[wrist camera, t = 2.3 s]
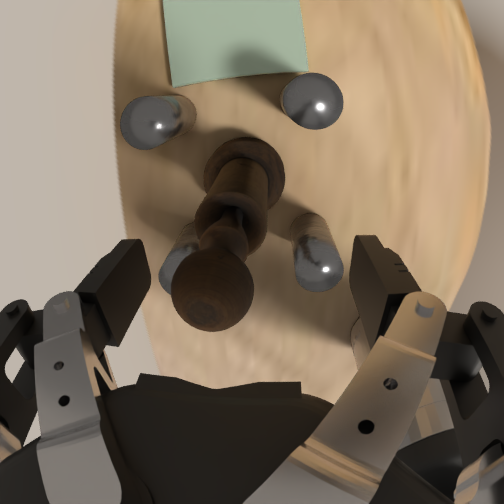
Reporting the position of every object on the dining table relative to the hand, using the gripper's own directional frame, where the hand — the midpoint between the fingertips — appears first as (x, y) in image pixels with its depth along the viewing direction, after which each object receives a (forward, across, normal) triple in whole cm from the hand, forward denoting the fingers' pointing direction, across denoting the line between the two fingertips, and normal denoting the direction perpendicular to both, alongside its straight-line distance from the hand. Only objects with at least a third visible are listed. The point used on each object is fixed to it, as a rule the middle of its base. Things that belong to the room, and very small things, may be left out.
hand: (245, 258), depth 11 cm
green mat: (+16, +2, -14) cm, 21 cm away
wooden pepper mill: (+16, +1, +1) cm, 16 cm away
